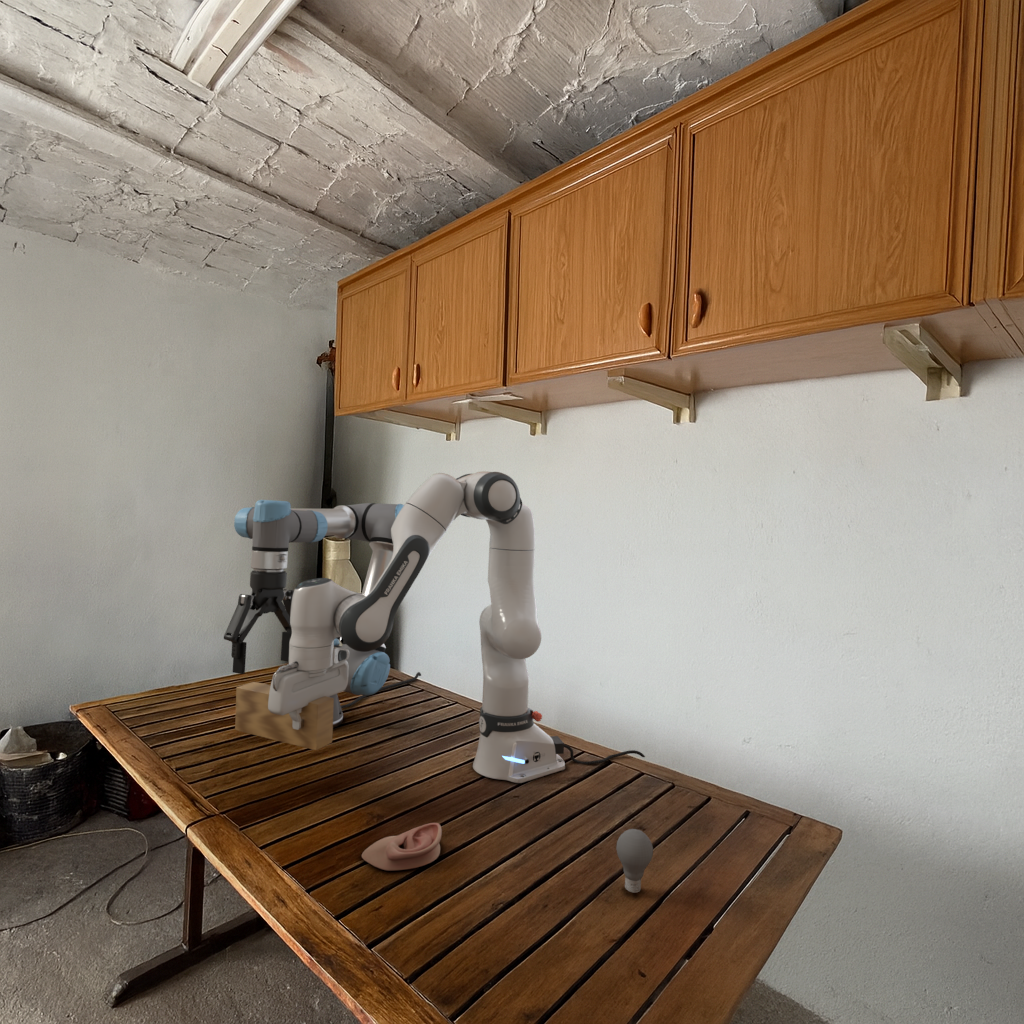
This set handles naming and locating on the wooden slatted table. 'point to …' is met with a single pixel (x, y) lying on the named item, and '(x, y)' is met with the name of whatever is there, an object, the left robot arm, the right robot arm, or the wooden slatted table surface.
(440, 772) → the wooden slatted table surface
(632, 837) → the light bulb
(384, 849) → the anatomical model
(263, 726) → the bar
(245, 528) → the left robot arm
